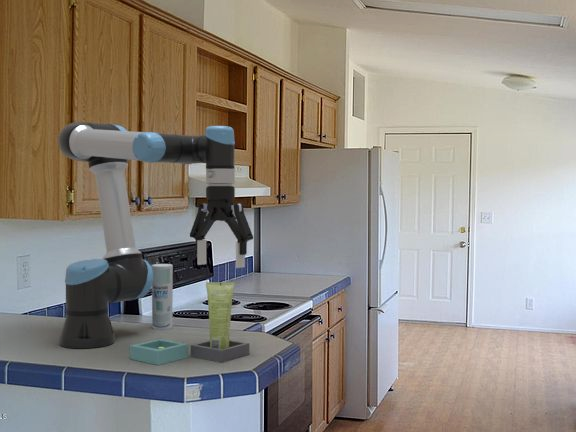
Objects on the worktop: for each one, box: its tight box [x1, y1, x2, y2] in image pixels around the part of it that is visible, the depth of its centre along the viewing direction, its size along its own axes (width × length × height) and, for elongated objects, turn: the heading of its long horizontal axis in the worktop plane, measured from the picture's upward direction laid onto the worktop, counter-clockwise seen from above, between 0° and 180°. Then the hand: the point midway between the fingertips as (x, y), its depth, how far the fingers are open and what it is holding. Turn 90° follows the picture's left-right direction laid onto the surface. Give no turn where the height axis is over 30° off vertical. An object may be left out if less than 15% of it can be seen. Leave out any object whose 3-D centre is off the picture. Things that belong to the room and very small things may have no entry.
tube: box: [205, 281, 235, 350], centre depth 190 cm, size 6×5×20 cm
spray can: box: [151, 263, 174, 331], centre depth 226 cm, size 6×6×20 cm
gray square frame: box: [190, 339, 250, 363], centre depth 190 cm, size 11×11×3 cm
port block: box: [129, 338, 189, 366], centre depth 187 cm, size 10×10×4 cm
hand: (220, 266), depth 189 cm, fingers open, 13 cm apart
